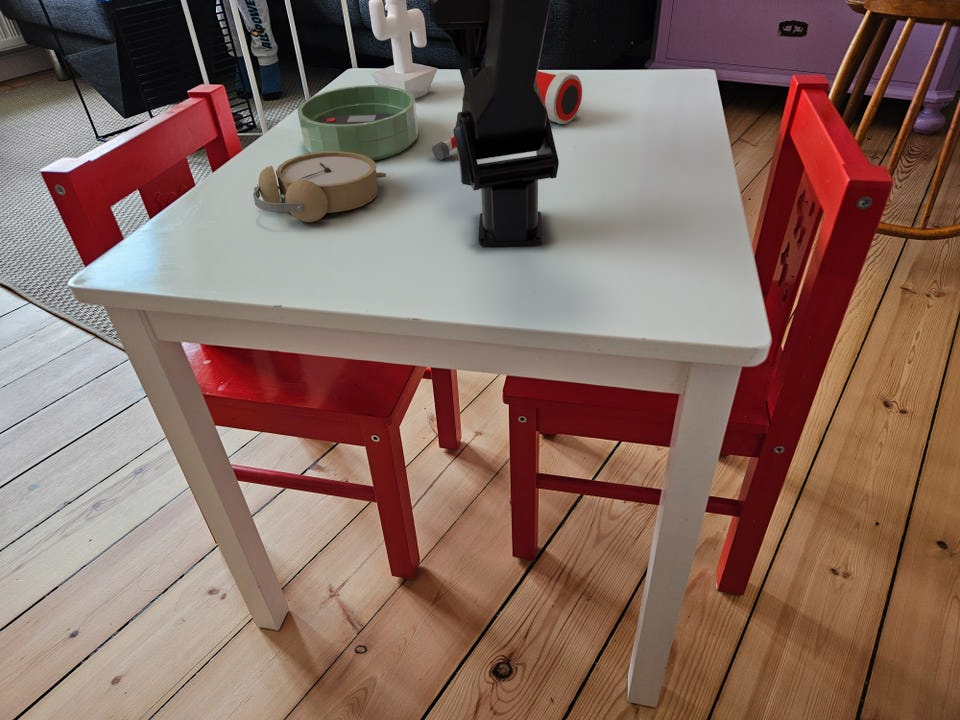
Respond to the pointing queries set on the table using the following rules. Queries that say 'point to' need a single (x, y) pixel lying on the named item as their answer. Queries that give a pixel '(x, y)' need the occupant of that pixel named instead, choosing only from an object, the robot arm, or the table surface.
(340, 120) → the remote
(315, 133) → the bowl
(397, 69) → the figurine
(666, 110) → the table surface
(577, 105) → the toy hammer
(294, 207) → the alarm clock
